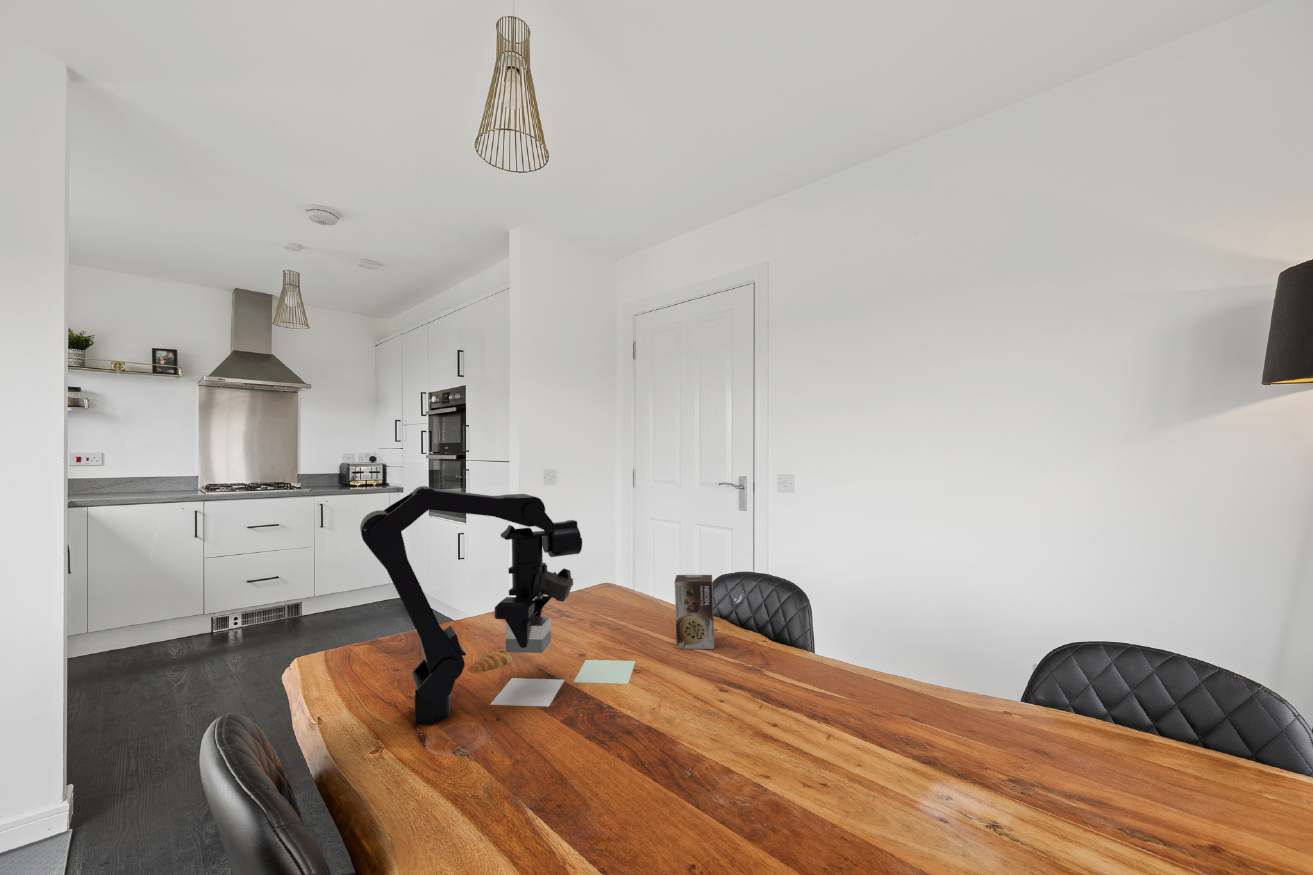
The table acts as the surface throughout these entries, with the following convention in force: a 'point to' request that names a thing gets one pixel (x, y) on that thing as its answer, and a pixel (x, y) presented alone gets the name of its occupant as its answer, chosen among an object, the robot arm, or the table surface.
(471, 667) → the pastry
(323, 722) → the table surface
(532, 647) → the block
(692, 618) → the coffee box
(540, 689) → the stand
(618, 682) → the stand
